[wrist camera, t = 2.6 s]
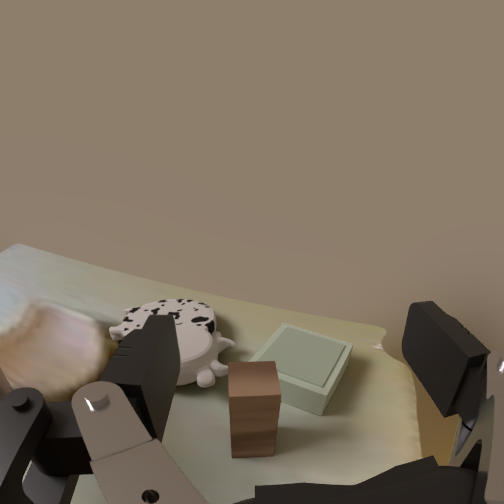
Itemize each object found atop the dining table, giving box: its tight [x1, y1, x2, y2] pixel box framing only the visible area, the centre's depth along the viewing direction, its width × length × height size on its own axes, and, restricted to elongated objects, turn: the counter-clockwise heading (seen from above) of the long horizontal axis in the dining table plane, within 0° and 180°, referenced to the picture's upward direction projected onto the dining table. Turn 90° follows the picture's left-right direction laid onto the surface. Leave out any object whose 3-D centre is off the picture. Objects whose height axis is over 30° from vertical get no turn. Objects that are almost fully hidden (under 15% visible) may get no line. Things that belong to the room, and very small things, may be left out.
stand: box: [248, 323, 353, 416], centre depth 41 cm, size 11×11×4 cm
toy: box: [109, 299, 236, 388], centre depth 46 cm, size 22×5×20 cm
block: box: [228, 361, 282, 458], centre depth 29 cm, size 4×4×11 cm
